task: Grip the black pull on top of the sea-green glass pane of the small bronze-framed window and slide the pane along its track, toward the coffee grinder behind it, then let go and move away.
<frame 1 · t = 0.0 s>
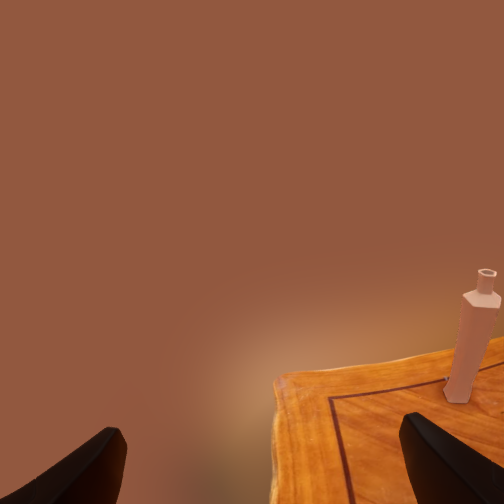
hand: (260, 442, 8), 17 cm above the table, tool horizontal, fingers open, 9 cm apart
perfume bottle: (458, 394, 28), on the table
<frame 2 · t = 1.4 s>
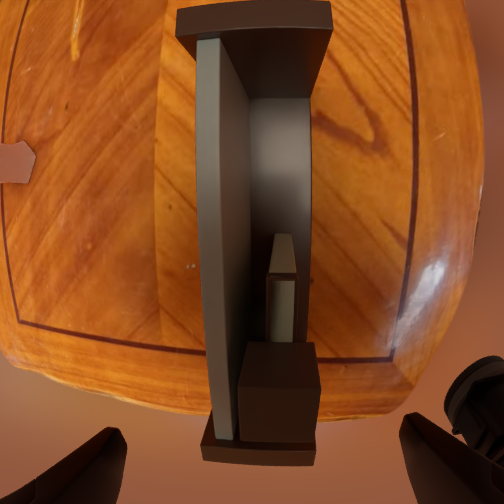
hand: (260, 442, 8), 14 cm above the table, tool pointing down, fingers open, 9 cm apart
pane: (281, 333, 14), point 7 cm above the table, slide at 0.0 cm
perfume bottle: (22, 161, 21), on the table
window frame: (270, 224, 20), on the table
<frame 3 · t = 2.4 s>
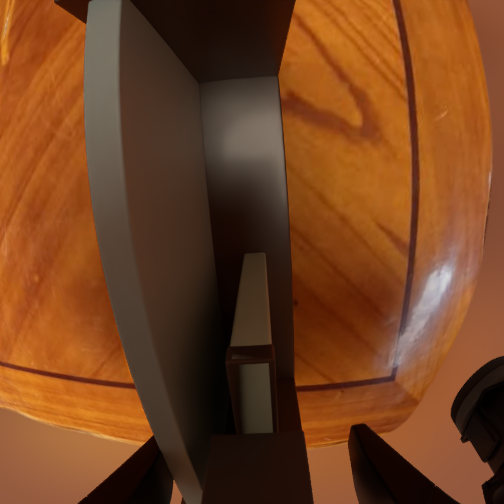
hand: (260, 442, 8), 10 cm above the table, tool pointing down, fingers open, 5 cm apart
pane: (260, 395, 10), point 7 cm above the table, slide at 0.0 cm
window frame: (238, 239, 16), on the table
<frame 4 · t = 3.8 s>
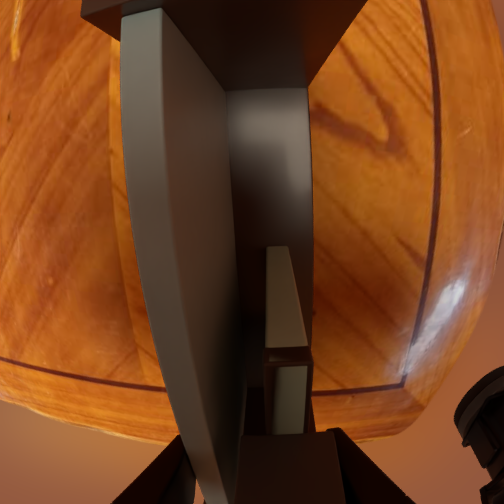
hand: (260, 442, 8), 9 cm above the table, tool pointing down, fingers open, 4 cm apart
pane: (283, 392, 10), point 7 cm above the table, slide at 1.0 cm, touching gripper
window frame: (260, 250, 16), on the table
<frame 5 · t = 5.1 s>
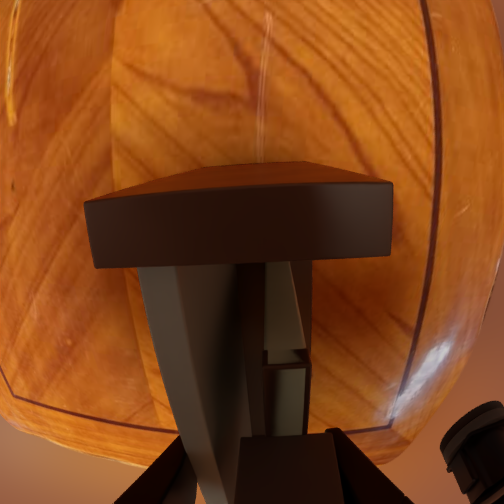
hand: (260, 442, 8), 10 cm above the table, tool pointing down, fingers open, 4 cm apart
pane: (283, 394, 10), point 7 cm above the table, slide at 5.5 cm, touching gripper
window frame: (264, 328, 18), on the table
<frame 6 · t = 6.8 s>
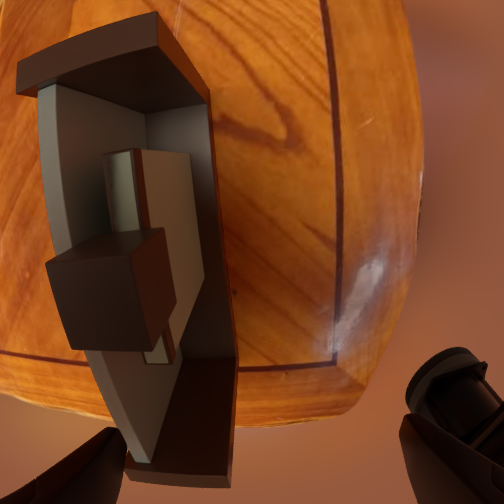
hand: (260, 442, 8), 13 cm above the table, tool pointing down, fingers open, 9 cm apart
pane: (160, 244, 12), point 7 cm above the table, slide at 5.5 cm
window frame: (184, 239, 19), on the table
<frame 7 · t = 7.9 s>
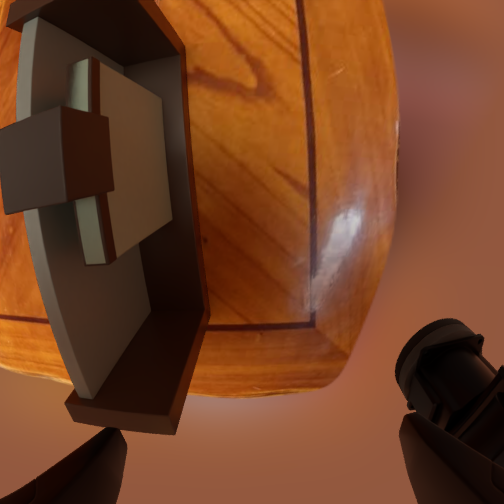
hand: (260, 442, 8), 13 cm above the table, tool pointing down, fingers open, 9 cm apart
pane: (116, 159, 12), point 7 cm above the table, slide at 5.5 cm
window frame: (156, 185, 19), on the table
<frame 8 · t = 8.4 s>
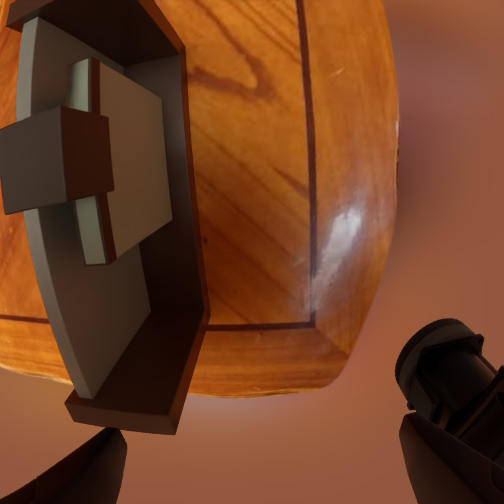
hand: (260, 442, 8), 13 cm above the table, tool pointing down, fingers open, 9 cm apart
pane: (116, 159, 12), point 7 cm above the table, slide at 5.5 cm
window frame: (156, 185, 19), on the table
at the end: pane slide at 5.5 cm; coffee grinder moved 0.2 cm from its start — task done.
